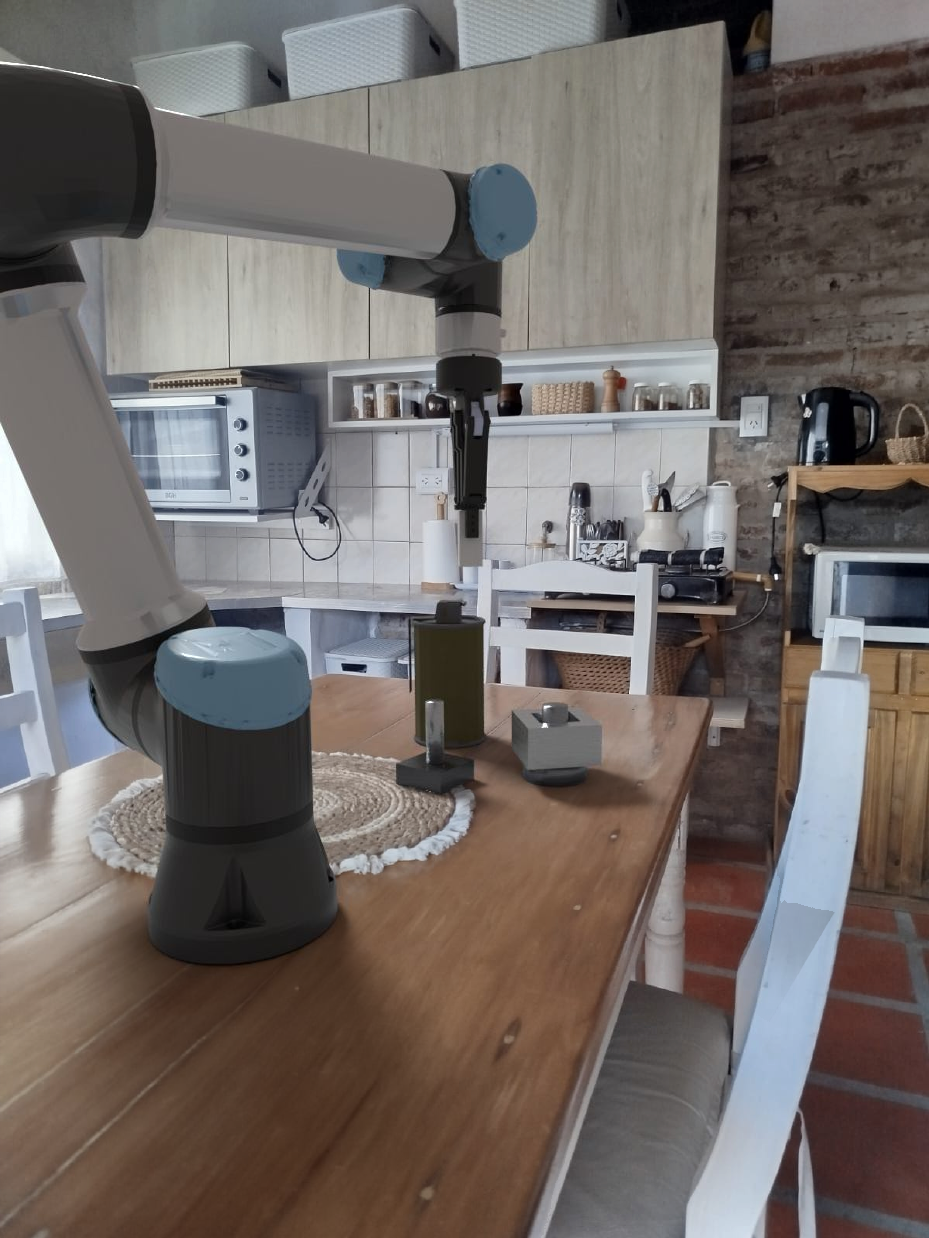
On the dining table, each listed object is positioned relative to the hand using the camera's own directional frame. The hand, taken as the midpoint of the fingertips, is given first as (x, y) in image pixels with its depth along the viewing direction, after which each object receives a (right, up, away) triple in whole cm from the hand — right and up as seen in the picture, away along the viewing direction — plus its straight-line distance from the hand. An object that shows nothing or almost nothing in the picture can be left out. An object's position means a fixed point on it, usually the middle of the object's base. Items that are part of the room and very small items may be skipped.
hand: (470, 566), depth 99 cm
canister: (-3, -24, +23) cm, 33 cm away
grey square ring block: (+11, -23, +6) cm, 26 cm away
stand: (-4, -26, +4) cm, 27 cm away
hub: (+11, -26, +6) cm, 28 cm away
